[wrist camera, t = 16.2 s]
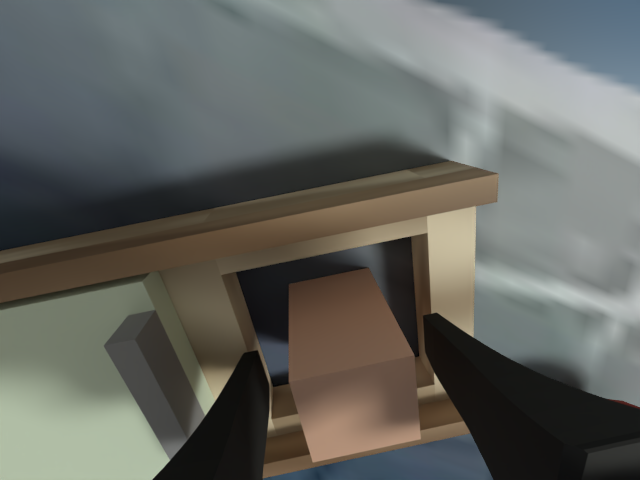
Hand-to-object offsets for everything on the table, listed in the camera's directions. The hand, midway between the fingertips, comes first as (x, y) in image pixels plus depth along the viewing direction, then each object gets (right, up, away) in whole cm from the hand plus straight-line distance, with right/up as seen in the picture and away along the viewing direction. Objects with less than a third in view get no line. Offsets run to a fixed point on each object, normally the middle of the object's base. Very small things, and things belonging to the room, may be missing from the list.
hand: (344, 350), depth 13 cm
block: (0, +1, +3) cm, 3 cm away
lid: (-12, -2, +1) cm, 12 cm away
